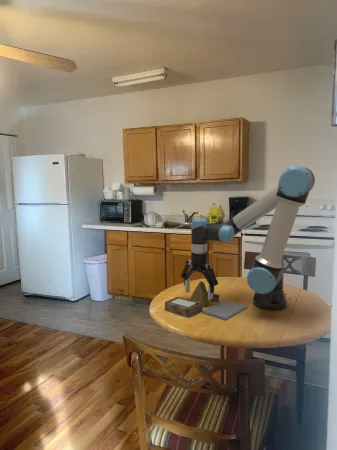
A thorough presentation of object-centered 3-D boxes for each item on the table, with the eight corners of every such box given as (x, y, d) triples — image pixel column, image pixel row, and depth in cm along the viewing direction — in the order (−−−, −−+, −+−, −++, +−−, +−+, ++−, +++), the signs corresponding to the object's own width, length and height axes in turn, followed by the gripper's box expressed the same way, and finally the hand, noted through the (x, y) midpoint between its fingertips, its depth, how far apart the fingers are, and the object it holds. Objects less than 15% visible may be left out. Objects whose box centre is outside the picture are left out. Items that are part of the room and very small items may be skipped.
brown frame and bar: (221, 302, 162) (221, 295, 161) (188, 318, 144) (188, 310, 143) (197, 295, 171) (197, 289, 171) (164, 309, 153) (163, 302, 153)
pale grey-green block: (197, 311, 151) (196, 303, 150) (189, 316, 146) (188, 307, 146) (178, 306, 158) (178, 298, 157) (170, 310, 153) (170, 302, 153)
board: (247, 308, 154) (247, 306, 154) (225, 320, 141) (225, 318, 140) (224, 302, 162) (224, 300, 162) (202, 313, 149) (202, 311, 148)
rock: (214, 302, 155) (212, 292, 165) (203, 288, 154) (201, 279, 163) (195, 315, 157) (194, 304, 167) (184, 301, 156) (184, 292, 165)
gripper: (226, 254, 152) (225, 300, 155) (183, 247, 169) (183, 288, 172) (216, 257, 147) (215, 304, 150) (173, 249, 163) (173, 291, 166)
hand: (198, 295), depth 161 cm, fingers open, 13 cm apart
